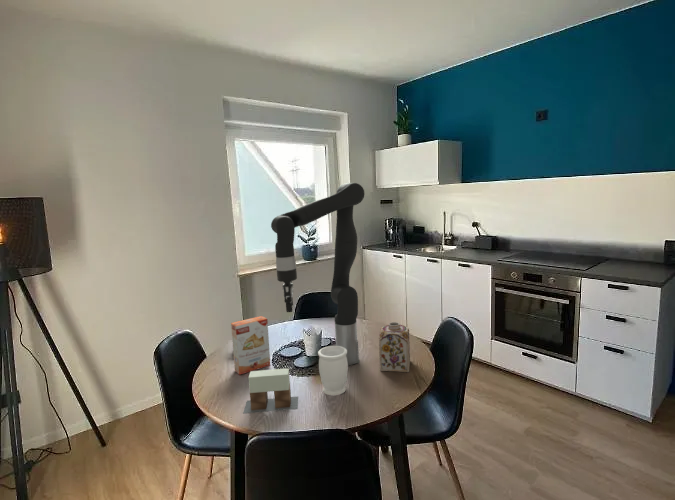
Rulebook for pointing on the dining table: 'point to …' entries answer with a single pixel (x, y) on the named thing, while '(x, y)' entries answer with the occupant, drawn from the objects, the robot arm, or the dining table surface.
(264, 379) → the plank
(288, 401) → the pillar
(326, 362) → the jar
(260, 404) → the pillar
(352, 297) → the robot arm
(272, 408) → the mat
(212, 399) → the dining table surface
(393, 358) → the decorative jar
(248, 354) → the cracker box
